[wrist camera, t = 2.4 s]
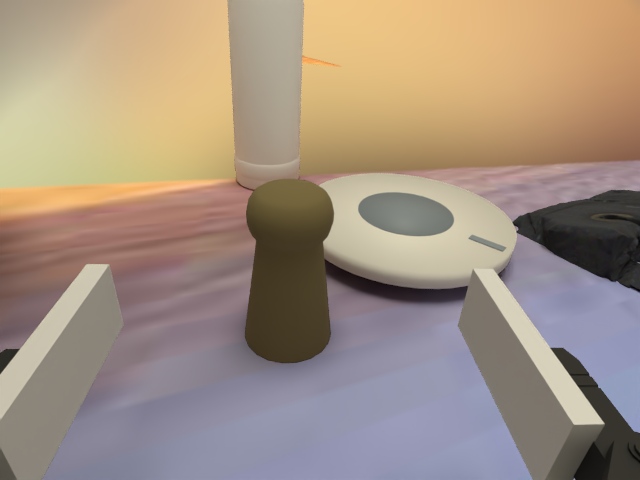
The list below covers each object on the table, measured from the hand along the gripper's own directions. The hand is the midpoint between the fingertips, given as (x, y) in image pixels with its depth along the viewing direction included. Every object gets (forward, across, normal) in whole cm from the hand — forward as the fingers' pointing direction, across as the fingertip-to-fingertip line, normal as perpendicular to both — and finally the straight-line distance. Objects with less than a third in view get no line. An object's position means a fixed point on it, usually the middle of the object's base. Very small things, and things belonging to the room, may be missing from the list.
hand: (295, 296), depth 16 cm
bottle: (+38, -4, -11) cm, 39 cm away
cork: (+10, 0, -11) cm, 15 cm away
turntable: (+23, +11, -9) cm, 27 cm away
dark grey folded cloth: (+26, +35, -12) cm, 45 cm away
